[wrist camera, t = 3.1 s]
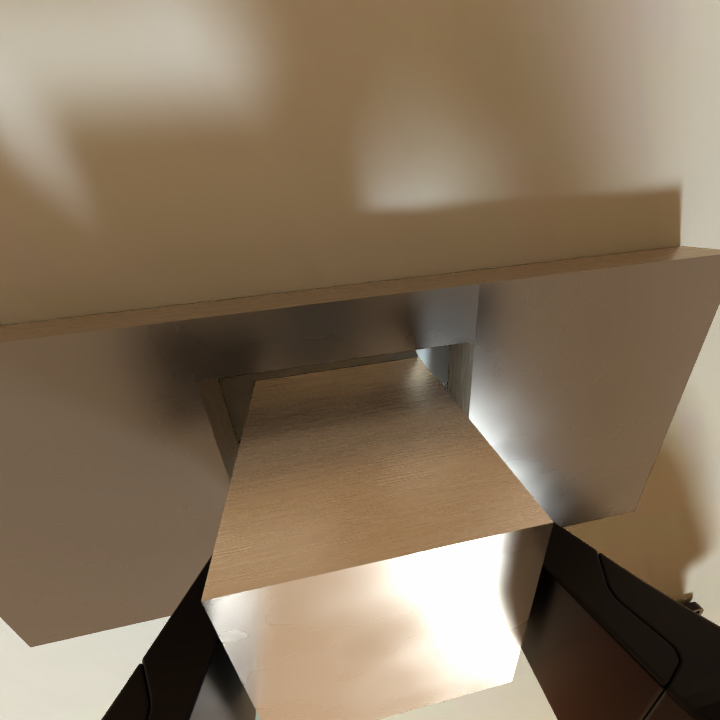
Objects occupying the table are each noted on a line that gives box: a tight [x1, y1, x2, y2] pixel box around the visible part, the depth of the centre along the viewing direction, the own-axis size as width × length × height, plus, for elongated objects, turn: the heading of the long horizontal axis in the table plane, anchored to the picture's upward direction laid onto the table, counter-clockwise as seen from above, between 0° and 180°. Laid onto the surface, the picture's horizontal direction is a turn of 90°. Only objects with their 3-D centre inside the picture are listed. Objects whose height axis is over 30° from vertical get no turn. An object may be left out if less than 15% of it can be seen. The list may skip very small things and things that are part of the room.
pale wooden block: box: [201, 357, 554, 720], centre depth 8 cm, size 5×5×6 cm
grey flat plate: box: [0, 246, 720, 647], centre depth 10 cm, size 22×10×2 cm, turn 94°
